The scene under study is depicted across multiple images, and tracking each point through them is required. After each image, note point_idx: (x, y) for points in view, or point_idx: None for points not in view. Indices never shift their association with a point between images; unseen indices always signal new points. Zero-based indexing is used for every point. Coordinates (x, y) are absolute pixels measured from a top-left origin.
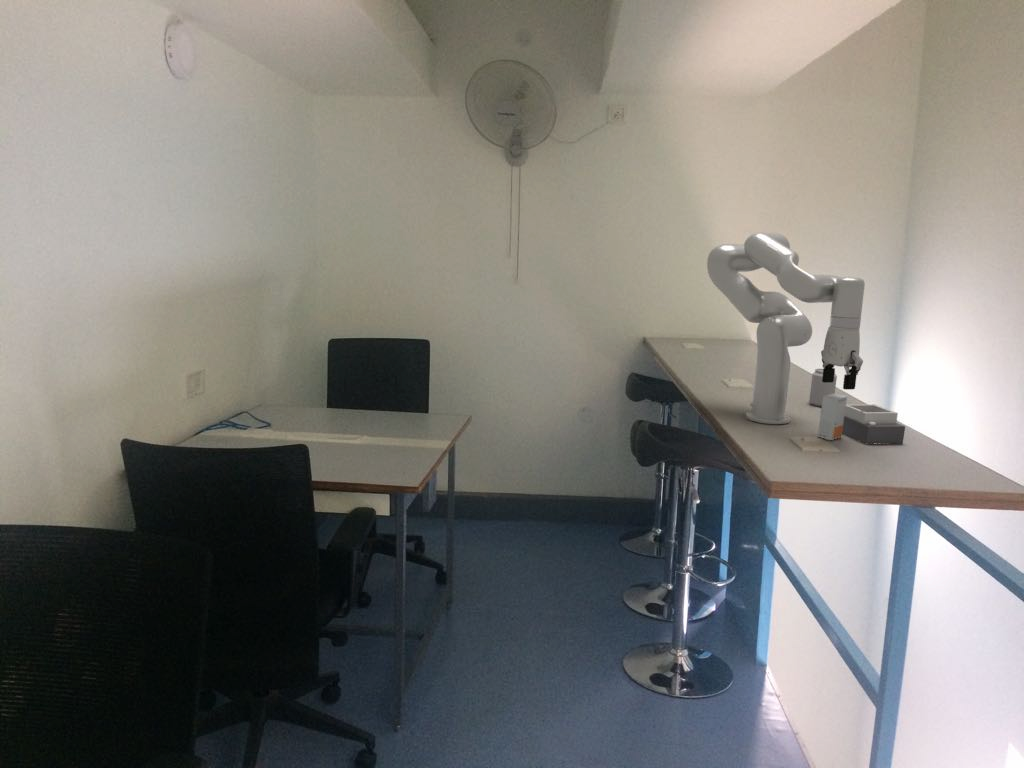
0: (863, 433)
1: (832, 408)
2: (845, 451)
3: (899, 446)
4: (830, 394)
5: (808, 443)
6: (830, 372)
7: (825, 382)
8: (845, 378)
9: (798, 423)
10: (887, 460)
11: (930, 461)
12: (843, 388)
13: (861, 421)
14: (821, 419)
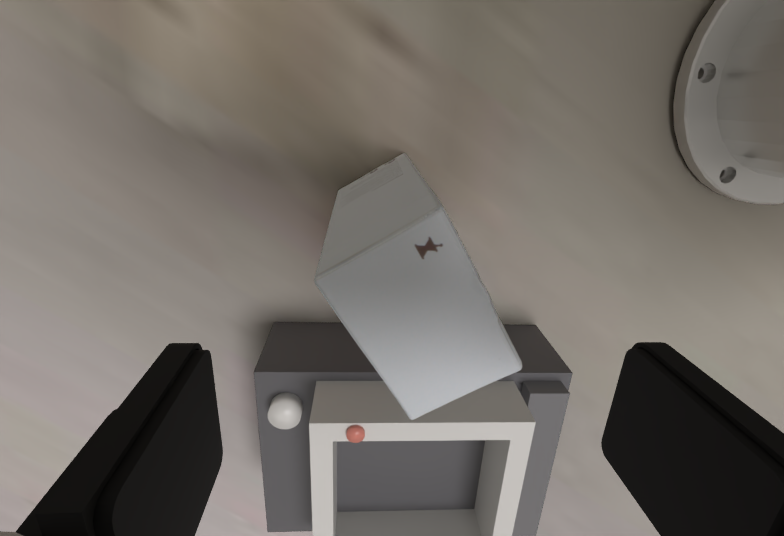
0: (300, 346)
1: (346, 230)
2: (148, 143)
3: (249, 434)
4: (491, 321)
5: (298, 16)
6: (699, 512)
7: (628, 365)
8: (87, 450)
9: (664, 219)
10: (13, 259)
11: (37, 423)
12: (190, 343)
13: (337, 385)
14: (404, 172)
